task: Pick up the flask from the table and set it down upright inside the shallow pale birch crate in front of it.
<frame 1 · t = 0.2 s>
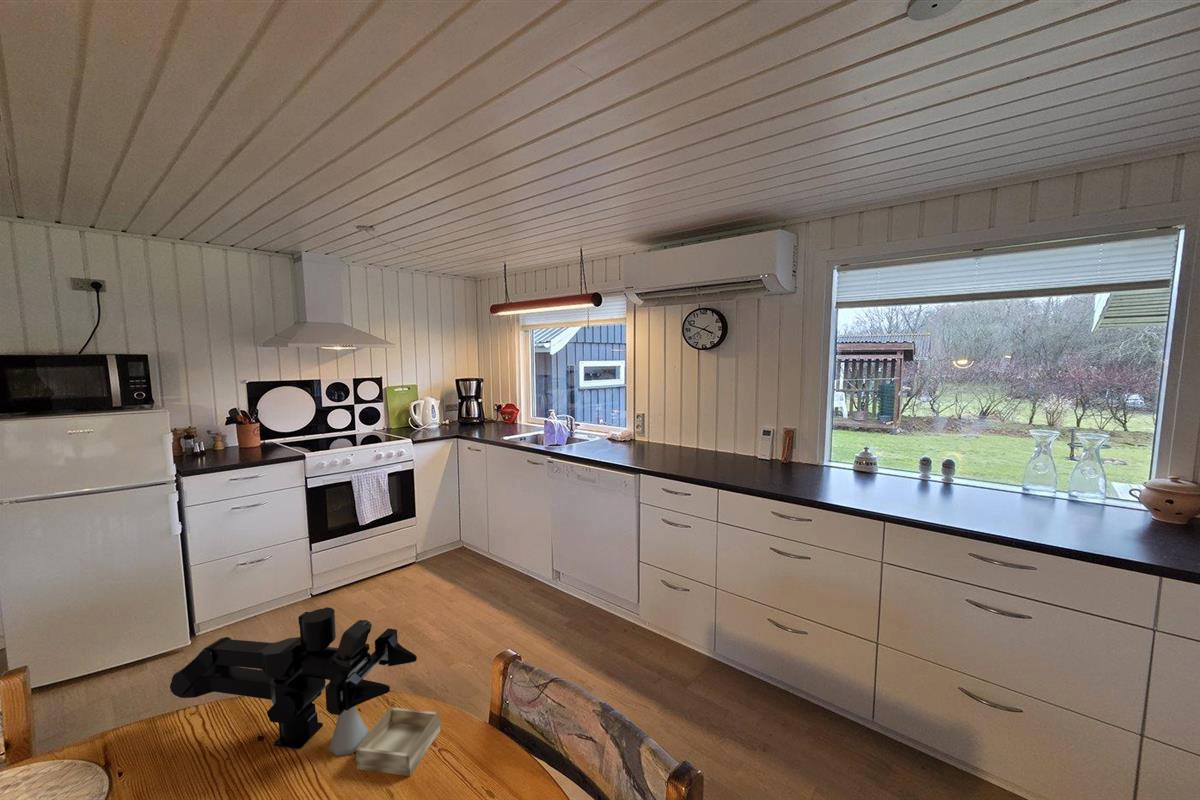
hand: (403, 673, 94), 16 cm above the table, tool horizontal, fingers open, 9 cm apart
flask: (349, 743, 98), on the table
crate: (400, 748, 96), on the table
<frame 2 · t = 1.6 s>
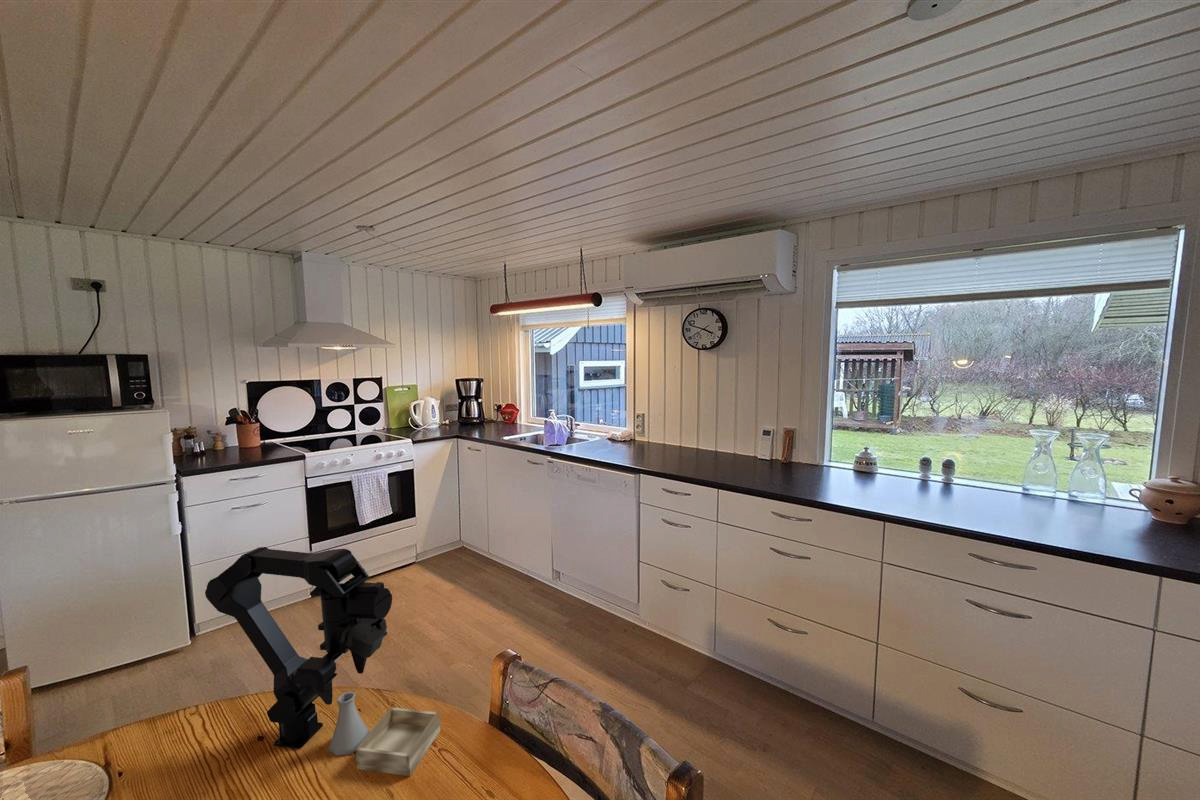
hand: (345, 687, 97), 12 cm above the table, tool pointing down, fingers open, 9 cm apart
nothing on the table moved.
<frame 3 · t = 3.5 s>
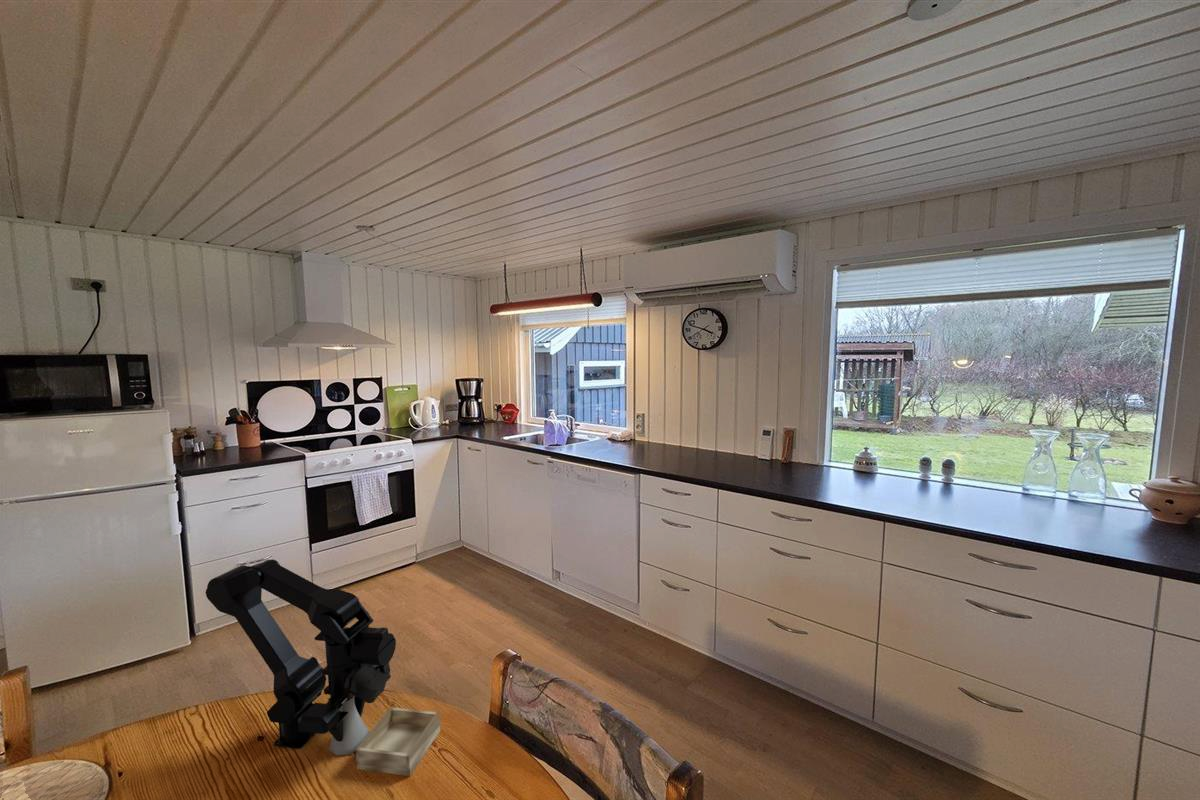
hand: (348, 730, 98), 3 cm above the table, tool pointing down, fingers closed on flask, 5 cm apart
flask: (349, 743, 98), on the table, touching gripper
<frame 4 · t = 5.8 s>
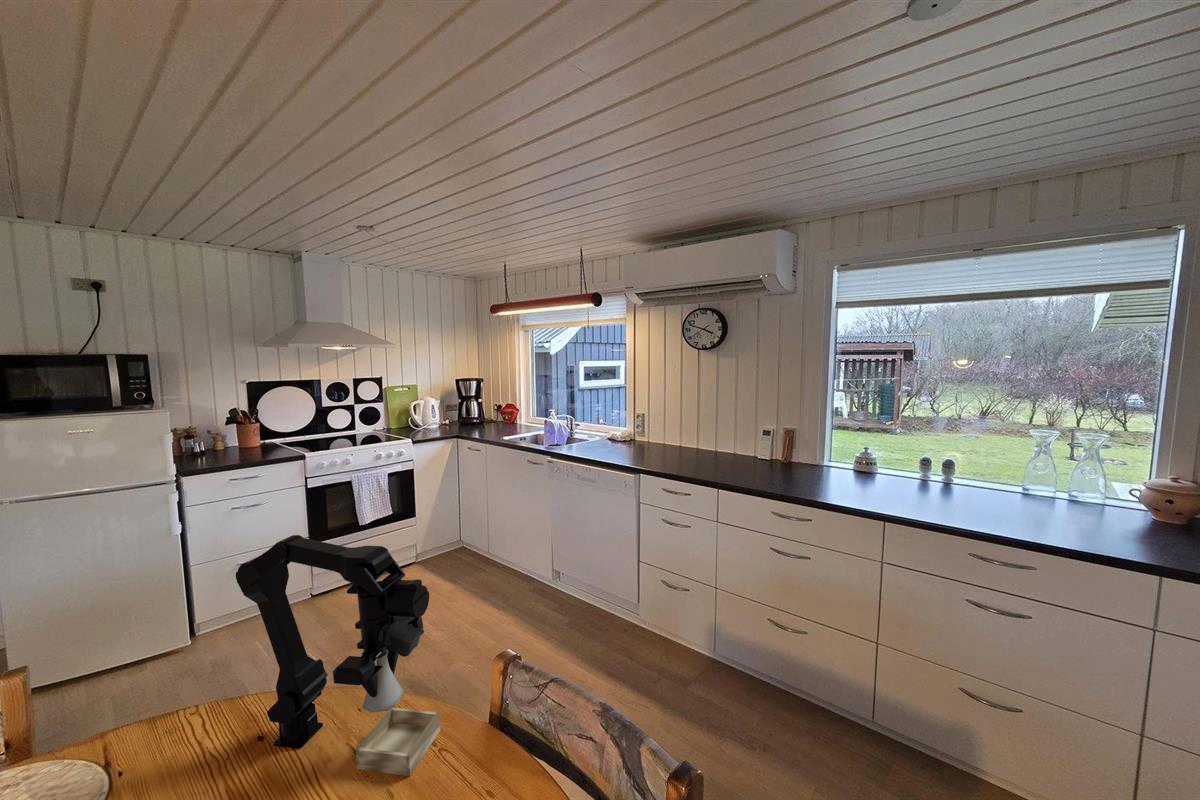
hand: (382, 687, 96), 13 cm above the table, tool pointing down, fingers closed on flask, 5 cm apart
flask: (383, 701, 96), point 10 cm above the table, touching gripper
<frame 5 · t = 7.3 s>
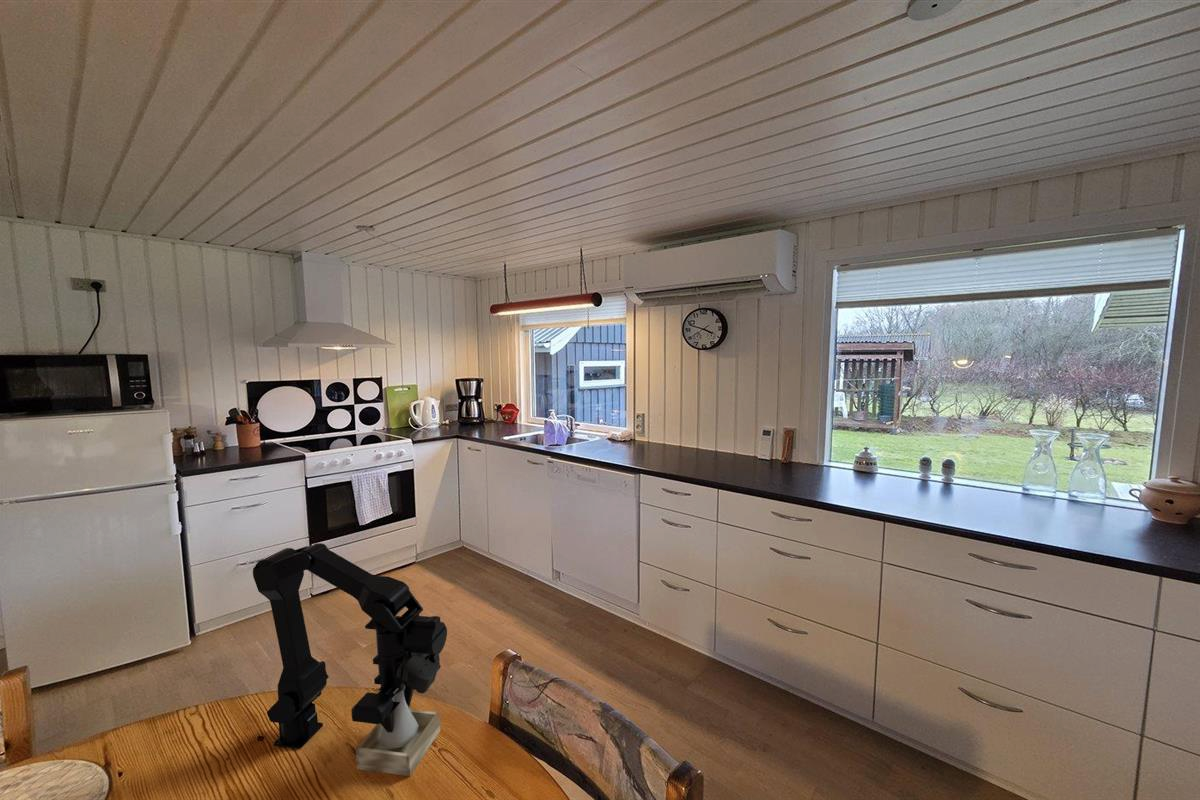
hand: (398, 721, 96), 6 cm above the table, tool pointing down, fingers closed on flask, 5 cm apart
flask: (399, 736, 96), point 3 cm above the table, touching gripper
when the fingers open (5 cm above the table, at t = 8.3 s): flask stays where it is, resting on crate.
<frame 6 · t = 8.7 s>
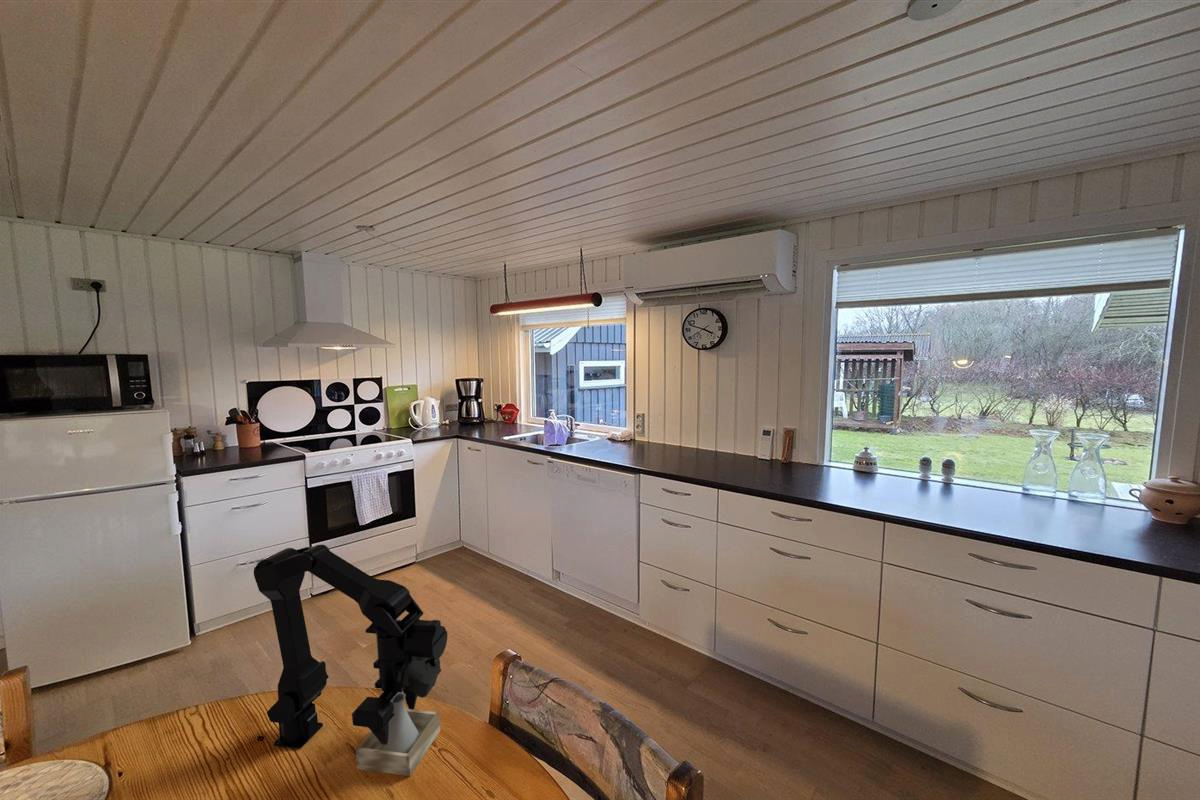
hand: (398, 725, 96), 5 cm above the table, tool pointing down, fingers open, 9 cm apart
flask: (399, 745, 96), point 1 cm above the table, touching crate
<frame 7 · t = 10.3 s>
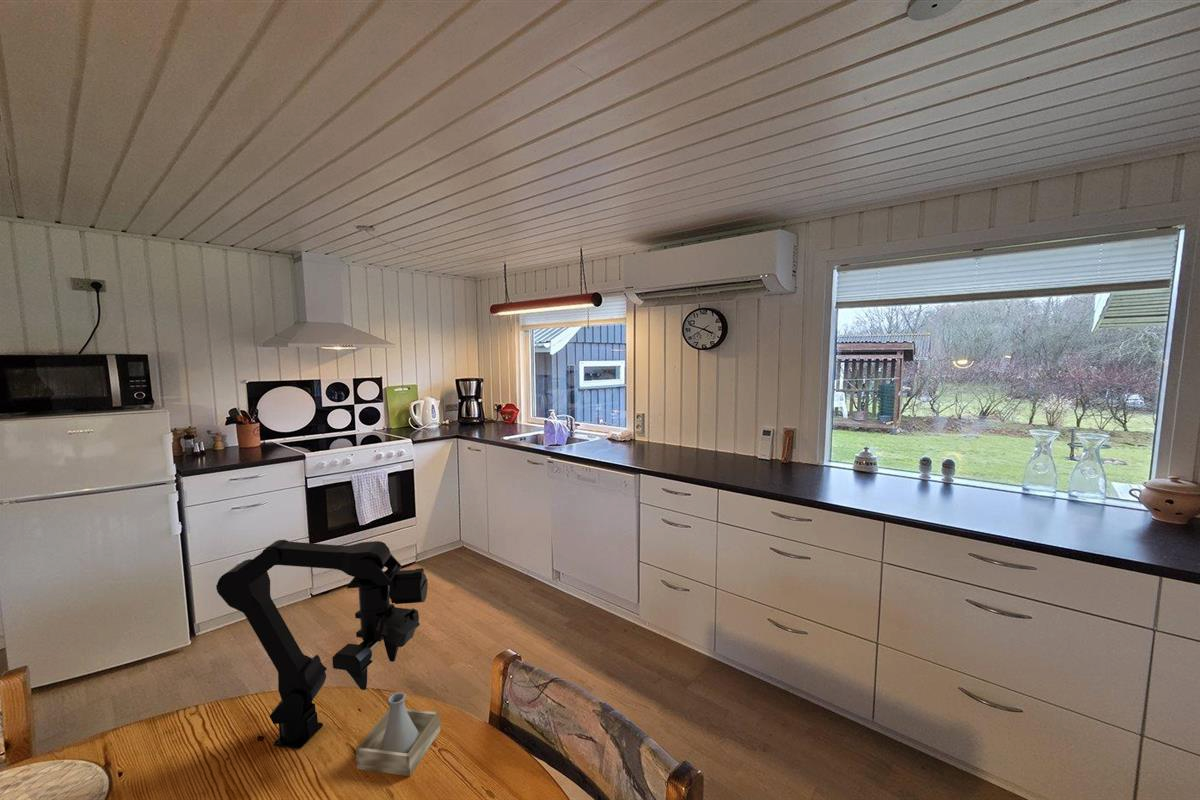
hand: (378, 674, 101), 12 cm above the table, tool pointing down, fingers open, 9 cm apart
nothing on the table moved.
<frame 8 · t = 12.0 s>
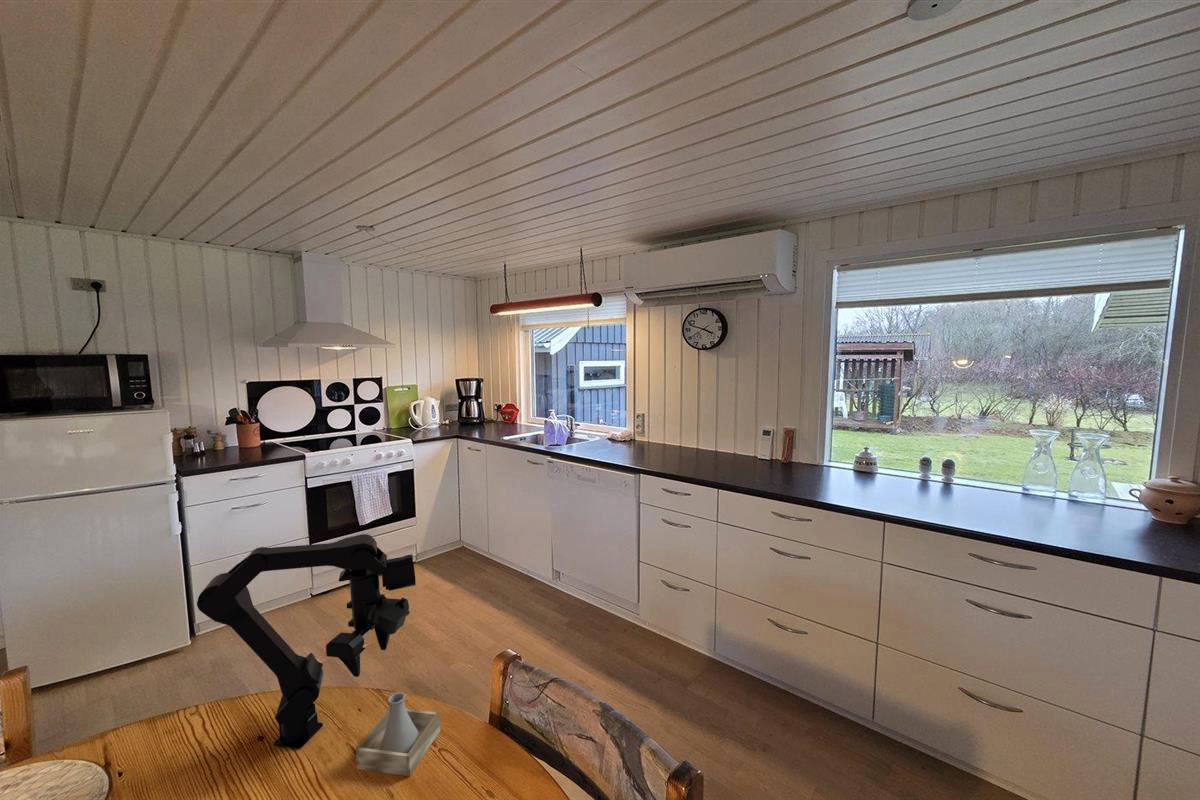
hand: (370, 662, 105), 12 cm above the table, tool pointing down, fingers open, 9 cm apart
nothing on the table moved.
at the end: flask 0.1 cm off-centre on the crate, point 0.8 cm above the crate's base; flask tilted 0°; the gripper is holding nothing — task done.
